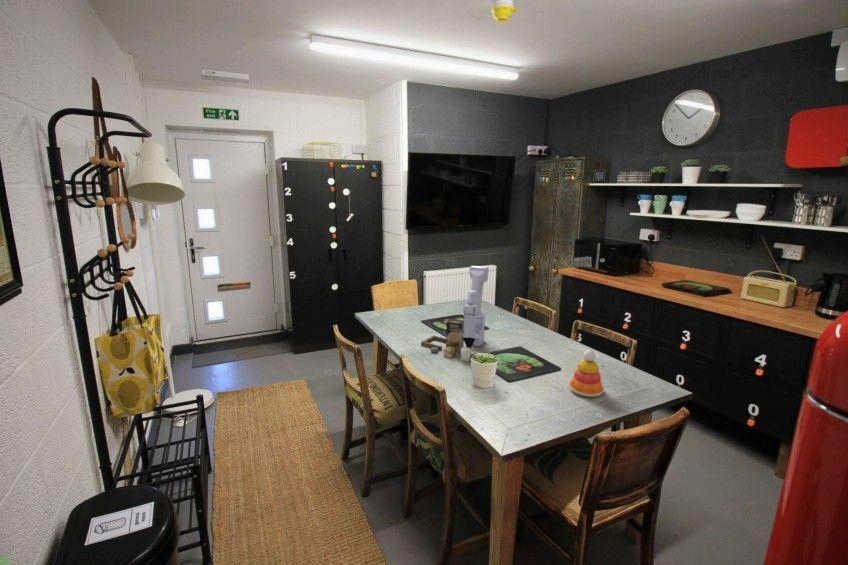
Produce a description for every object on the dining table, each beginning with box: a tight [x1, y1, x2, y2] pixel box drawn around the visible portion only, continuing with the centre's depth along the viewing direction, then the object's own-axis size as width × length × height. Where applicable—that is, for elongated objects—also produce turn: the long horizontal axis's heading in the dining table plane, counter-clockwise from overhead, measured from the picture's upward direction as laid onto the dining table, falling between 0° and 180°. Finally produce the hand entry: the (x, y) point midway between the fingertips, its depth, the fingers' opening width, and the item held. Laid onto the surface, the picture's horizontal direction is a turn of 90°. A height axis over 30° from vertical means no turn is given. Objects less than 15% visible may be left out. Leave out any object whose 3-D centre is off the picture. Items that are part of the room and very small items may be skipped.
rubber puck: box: [430, 347, 439, 354], centre depth 222 cm, size 4×4×2 cm
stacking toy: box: [568, 349, 605, 398], centre depth 178 cm, size 14×14×20 cm
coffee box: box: [445, 318, 465, 353], centre depth 224 cm, size 9×6×16 cm
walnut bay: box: [420, 335, 446, 351], centre depth 232 cm, size 12×13×2 cm
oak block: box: [443, 346, 455, 358], centre depth 217 cm, size 4×4×4 cm
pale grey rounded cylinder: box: [460, 346, 472, 363], centre depth 211 cm, size 5×5×6 cm
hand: (469, 350), depth 220 cm, fingers closed
